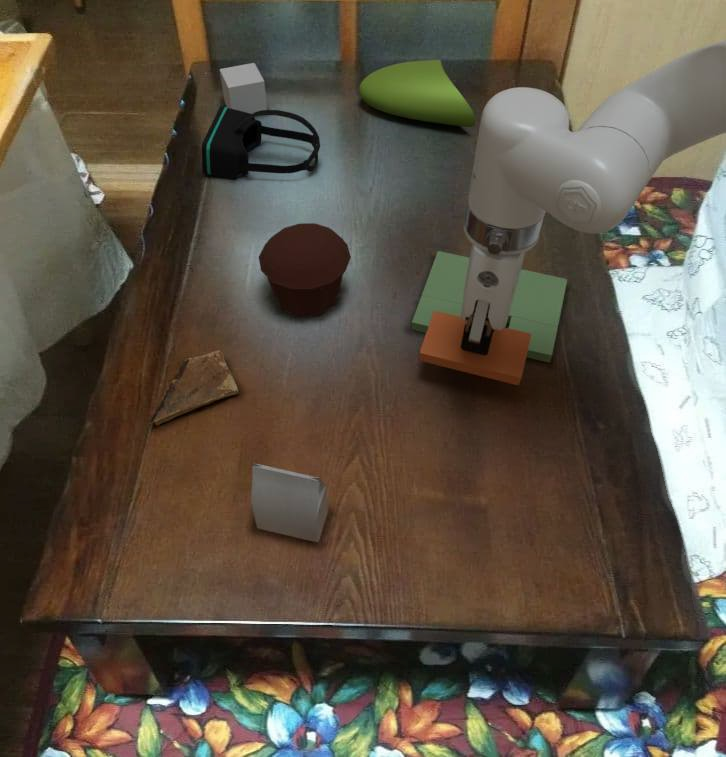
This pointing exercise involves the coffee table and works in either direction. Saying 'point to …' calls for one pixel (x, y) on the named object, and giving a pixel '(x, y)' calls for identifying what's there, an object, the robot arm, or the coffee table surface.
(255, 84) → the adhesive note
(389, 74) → the green curved wedge
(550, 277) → the notch pad
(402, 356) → the coffee table surface
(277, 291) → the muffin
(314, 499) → the grey piece
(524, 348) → the tab pad
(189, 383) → the shard
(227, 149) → the virtual reality headset
